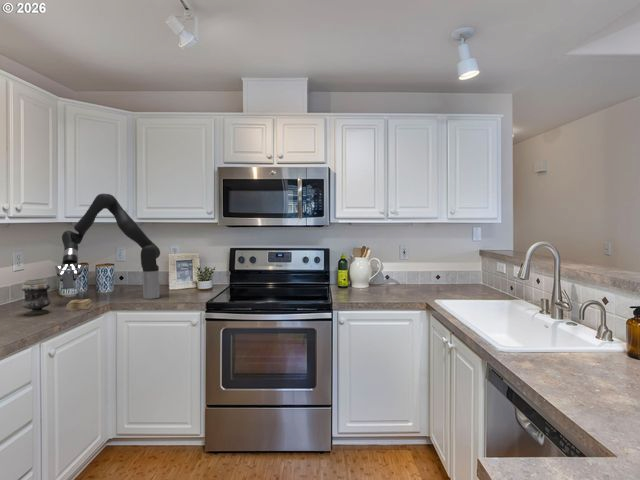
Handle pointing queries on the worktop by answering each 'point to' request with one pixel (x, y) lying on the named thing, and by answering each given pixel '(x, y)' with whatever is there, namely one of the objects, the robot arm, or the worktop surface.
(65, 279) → the housing
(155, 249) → the robot arm
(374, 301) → the worktop surface
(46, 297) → the apothecary jar
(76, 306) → the tan flat rounded piece
